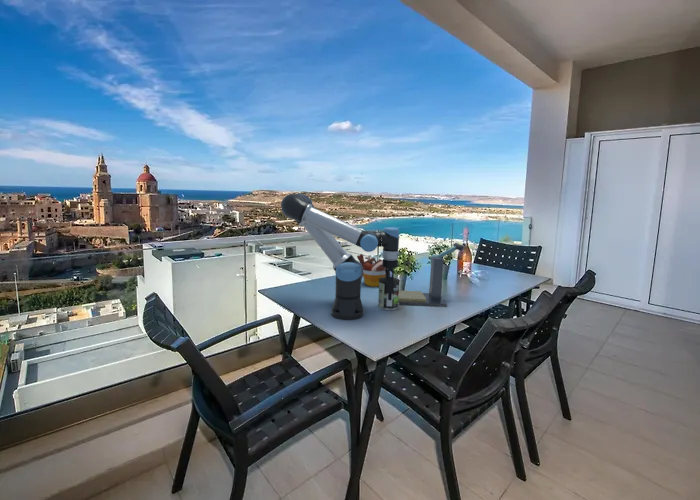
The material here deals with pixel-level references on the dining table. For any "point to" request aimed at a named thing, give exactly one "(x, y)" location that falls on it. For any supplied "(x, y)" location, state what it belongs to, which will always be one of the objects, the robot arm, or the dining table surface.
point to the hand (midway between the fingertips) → (388, 302)
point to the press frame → (434, 292)
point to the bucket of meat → (372, 270)
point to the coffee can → (383, 295)
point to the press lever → (450, 250)
